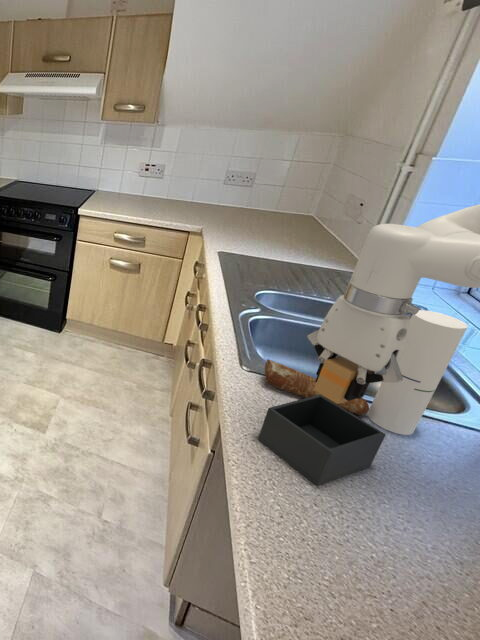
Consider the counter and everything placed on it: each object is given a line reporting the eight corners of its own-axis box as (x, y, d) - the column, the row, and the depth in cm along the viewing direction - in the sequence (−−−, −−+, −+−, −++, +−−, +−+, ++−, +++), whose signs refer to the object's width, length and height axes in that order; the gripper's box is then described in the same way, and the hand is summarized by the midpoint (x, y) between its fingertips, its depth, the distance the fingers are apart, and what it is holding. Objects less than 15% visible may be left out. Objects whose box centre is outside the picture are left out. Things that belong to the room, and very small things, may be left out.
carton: (332, 384, 77) (344, 355, 75) (356, 399, 74) (370, 368, 71) (313, 389, 76) (325, 359, 74) (337, 404, 72) (350, 373, 70)
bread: (262, 374, 103) (268, 355, 101) (364, 410, 91) (373, 389, 89) (258, 386, 98) (264, 366, 96) (365, 425, 87) (375, 404, 85)
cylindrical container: (368, 405, 92) (413, 306, 84) (413, 422, 88) (466, 319, 79) (366, 421, 88) (413, 318, 79) (413, 440, 83) (469, 332, 74)
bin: (307, 424, 87) (319, 394, 84) (370, 466, 77) (386, 434, 74) (257, 439, 82) (268, 407, 80) (316, 486, 72) (331, 452, 70)
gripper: (457, 321, 62) (407, 418, 68) (335, 277, 76) (303, 360, 83) (426, 327, 59) (377, 427, 66) (306, 281, 74) (276, 366, 81)
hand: (337, 388), depth 74 cm, fingers closed on carton, 4 cm apart
